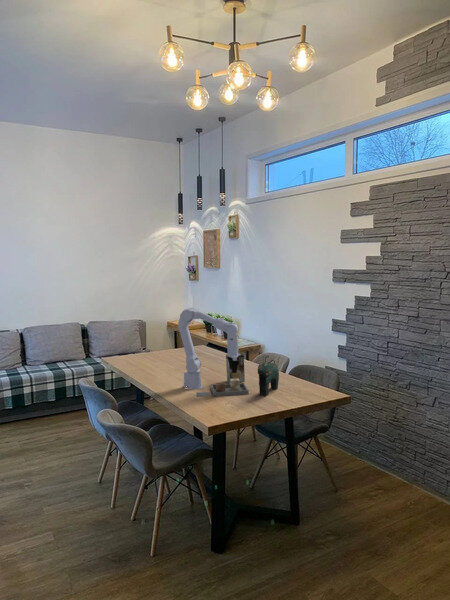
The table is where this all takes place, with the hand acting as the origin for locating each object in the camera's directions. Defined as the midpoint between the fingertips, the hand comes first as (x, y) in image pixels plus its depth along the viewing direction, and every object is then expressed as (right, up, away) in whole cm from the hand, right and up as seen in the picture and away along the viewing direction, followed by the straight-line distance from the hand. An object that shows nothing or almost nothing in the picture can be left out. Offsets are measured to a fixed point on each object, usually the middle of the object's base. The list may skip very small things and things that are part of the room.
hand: (233, 371), depth 239 cm
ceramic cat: (+18, -10, -7) cm, 22 cm away
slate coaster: (-16, -11, -9) cm, 21 cm away
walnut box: (-7, -10, -8) cm, 15 cm away
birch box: (+1, -10, -4) cm, 11 cm away
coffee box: (+2, -9, +15) cm, 18 cm away
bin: (-2, -10, -5) cm, 11 cm away
